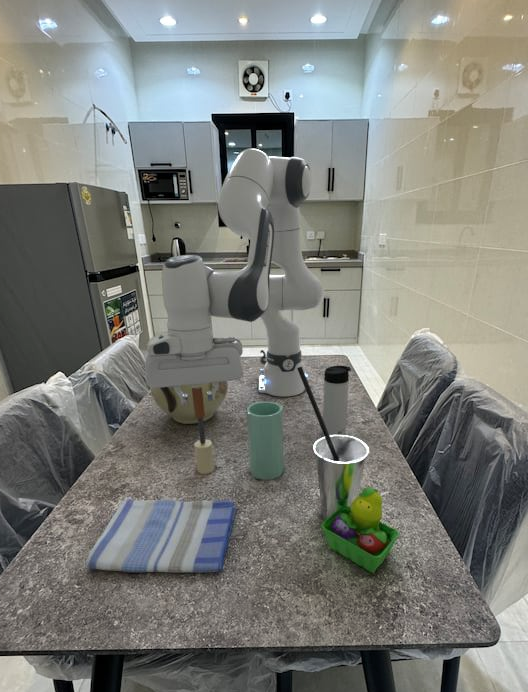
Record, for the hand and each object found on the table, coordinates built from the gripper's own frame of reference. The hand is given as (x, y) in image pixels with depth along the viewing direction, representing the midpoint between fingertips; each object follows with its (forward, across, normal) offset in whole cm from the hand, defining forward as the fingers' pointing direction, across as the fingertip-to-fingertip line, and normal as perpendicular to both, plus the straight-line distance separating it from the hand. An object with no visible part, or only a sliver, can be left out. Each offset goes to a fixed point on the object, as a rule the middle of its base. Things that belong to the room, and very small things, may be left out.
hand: (198, 401), depth 84 cm
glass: (+18, -24, +23) cm, 37 cm away
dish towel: (+18, +8, +21) cm, 29 cm away
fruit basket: (+18, -25, +32) cm, 45 cm away
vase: (+18, -14, +4) cm, 23 cm away
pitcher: (+18, +2, -30) cm, 35 cm away
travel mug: (+18, -35, -7) cm, 40 cm away
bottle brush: (+18, 0, 0) cm, 18 cm away
